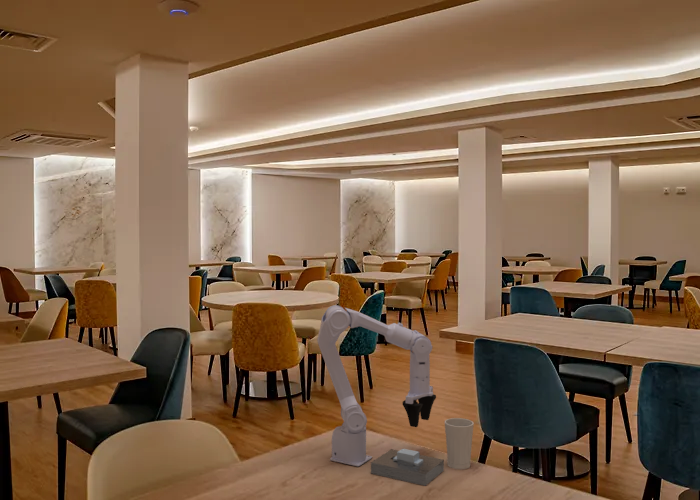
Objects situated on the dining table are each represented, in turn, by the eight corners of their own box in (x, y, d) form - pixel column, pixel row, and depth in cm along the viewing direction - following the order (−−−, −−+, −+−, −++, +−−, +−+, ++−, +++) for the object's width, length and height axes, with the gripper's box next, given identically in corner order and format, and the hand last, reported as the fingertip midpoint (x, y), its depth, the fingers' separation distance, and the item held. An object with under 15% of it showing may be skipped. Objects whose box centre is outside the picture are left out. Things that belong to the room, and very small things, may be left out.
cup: (473, 471, 170) (473, 427, 169) (443, 469, 171) (443, 425, 171) (473, 460, 178) (473, 418, 177) (445, 458, 179) (445, 417, 179)
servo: (392, 471, 170) (392, 451, 170) (398, 467, 173) (398, 447, 173) (417, 477, 166) (417, 456, 166) (423, 472, 169) (423, 452, 169)
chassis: (370, 473, 168) (370, 462, 168) (391, 459, 179) (391, 449, 179) (425, 485, 160) (425, 474, 160) (443, 470, 170) (443, 459, 170)
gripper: (421, 382, 172) (421, 432, 172) (442, 372, 184) (442, 418, 185) (398, 379, 175) (398, 427, 176) (420, 370, 188) (420, 414, 188)
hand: (419, 422), depth 180 cm, fingers open, 7 cm apart
